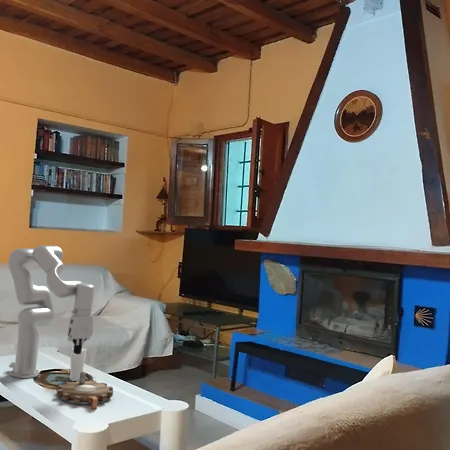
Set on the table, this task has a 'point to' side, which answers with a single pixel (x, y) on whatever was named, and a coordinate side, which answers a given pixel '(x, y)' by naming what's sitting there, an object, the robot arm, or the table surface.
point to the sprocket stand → (86, 402)
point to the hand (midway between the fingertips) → (77, 353)
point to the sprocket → (84, 390)
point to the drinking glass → (77, 364)
